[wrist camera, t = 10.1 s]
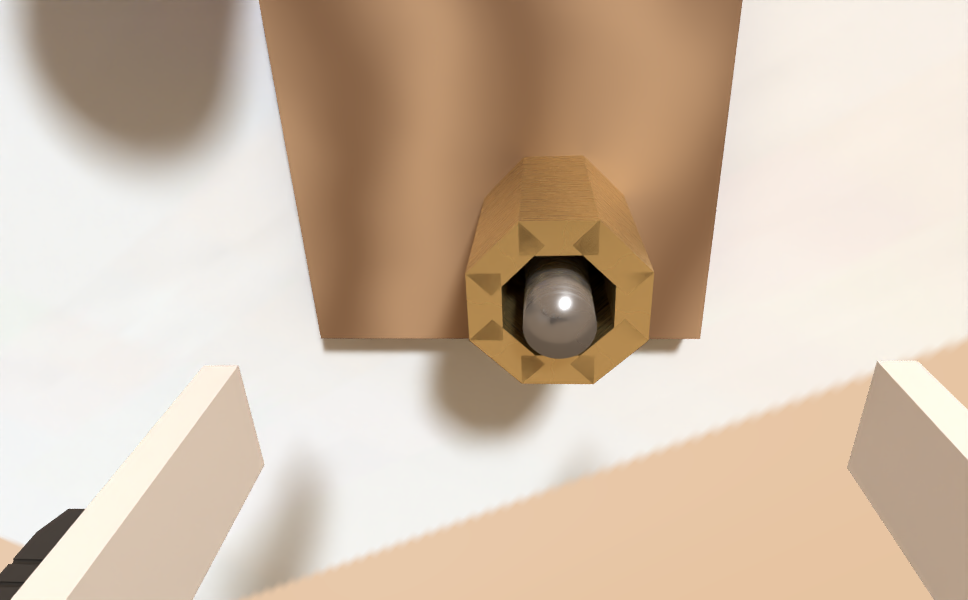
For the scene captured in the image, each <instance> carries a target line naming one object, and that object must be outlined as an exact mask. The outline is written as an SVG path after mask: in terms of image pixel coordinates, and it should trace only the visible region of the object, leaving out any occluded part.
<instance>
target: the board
mask: <svg viewBox="0 0 968 600" xmlns="http://www.w3.org/2000/svg"><path fill="white" fill-rule="evenodd" d="M259 4H260V10H261V15H262V20H263V26H264V31H265V37H266V42H267V48H268V53H269V58H270V64H271V69H272V75H273V80H274V85H275V91H276V96H277V102H278V107H279V113H280V118H281V123H282V129H283V134H284V140H285V145H286V151H287V156H288V161H289V167H290V172H291V178H292V183H293V189H294V194H295V199H296V205H297V210H298V216H299V221H300V226H301V232H302V237H303V243H304V248H305V254H306V259H307V264H308V270H309V275H310V281H311V286H312V292H313V297H314V302H315V308H316V313H317V319H318V324H319V330H320V335H321V338H469V326H468V310H467V294H466V279H465V272H466V269H467V265H468V261H469V257H470V253H471V249H472V245H473V241H474V237H475V233H476V229H477V225H478V221H479V217H480V213H481V209H482V205H483V202H484V198H485V197H486V196H487V195H488V194H489V193H490V192H491V191H492V190H493V189H494V187H495V186H496V185H497V184H498V183H499V182H500V181H501V180H502V179H503V178H504V177H505V176H506V175H507V174H508V173H509V172H510V171H511V170H512V169H513V168H514V167H515V166H516V165H517V164H518V163H519V162H520V161H521V160H522V158H523V157H540V156H580V155H583V156H584V157H585V158H587V159H588V160H589V161H590V162H591V163H592V164H593V165H594V166H595V167H596V168H597V169H598V170H599V171H600V172H601V173H602V174H603V175H604V176H605V177H606V178H607V179H608V180H609V181H610V182H611V183H612V184H613V185H614V186H615V187H616V188H617V189H618V190H619V191H620V192H621V193H622V194H623V195H624V197H625V200H626V202H627V205H628V207H629V210H630V212H631V215H632V217H633V220H634V222H635V225H636V227H637V230H638V232H639V235H640V238H641V240H642V243H643V245H644V248H645V250H646V253H647V255H648V258H649V260H650V263H651V265H652V268H653V270H654V281H653V293H652V305H651V317H650V329H649V339H700V334H701V326H702V318H703V310H704V302H705V294H706V286H707V278H708V270H709V262H710V254H711V247H712V239H713V231H714V223H715V215H716V207H717V199H718V191H719V183H720V175H721V167H722V159H723V151H724V143H725V135H726V127H727V119H728V111H729V103H730V95H731V87H732V79H733V71H734V63H735V55H736V47H737V39H738V31H739V24H740V16H741V8H742V0H259Z"/></svg>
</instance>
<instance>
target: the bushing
mask: <svg viewBox="0 0 968 600" xmlns="http://www.w3.org/2000/svg"><path fill="white" fill-rule="evenodd" d="M569 255H583V256H584V257H585V258H586V262H587V268H588V274H589V279H590V285H591V291H592V297H593V303H594V309H595V315H596V321H597V332H596V335H595V338H594V340H593V342H592V343H591V344H590V346H589V347H588V348H587V349H586V350H584V351H583V352H582V353H580V354H578V355H576V356H573V357H570V358H565V359H554V358H549V357H546V356H543V355H541V354H539V353H538V352H536V351H535V350H534V349H533V348H531V347H530V345H529V344H528V343H527V341H526V339H525V337H524V333H523V312H524V291H525V270H526V263H527V262H528V261H529V260H530V259H531V258H533V257H534V256H569ZM465 279H466V294H467V310H468V326H469V340H470V341H471V342H472V343H473V344H475V345H476V346H477V347H478V348H479V349H481V350H482V351H483V352H484V353H485V354H487V355H488V356H489V357H490V358H491V359H493V360H494V361H495V362H496V363H498V364H499V365H500V366H501V367H502V368H504V369H505V370H506V371H507V372H508V373H510V374H511V375H512V376H513V377H515V378H516V379H517V380H518V381H519V382H521V383H522V384H594V383H595V382H597V381H598V380H599V379H600V378H602V377H603V376H604V375H605V374H607V373H608V372H609V371H611V370H612V369H613V368H614V367H616V366H617V365H618V364H619V363H621V362H622V361H623V360H624V359H626V358H627V357H628V356H629V355H631V354H632V353H633V352H635V351H636V350H637V349H638V348H640V347H641V346H642V345H643V344H645V343H646V342H647V341H648V340H649V329H650V317H651V305H652V293H653V281H654V270H653V268H652V265H651V263H650V260H649V258H648V255H647V253H646V250H645V248H644V245H643V243H642V240H641V238H640V235H639V232H638V230H637V227H636V225H635V222H634V220H633V217H632V215H631V212H630V210H629V207H628V205H627V202H626V200H625V197H624V195H623V194H622V193H621V192H620V191H619V190H618V189H617V188H616V187H615V186H614V185H613V184H612V183H611V182H610V181H609V180H608V179H607V178H606V177H605V176H604V175H603V174H602V173H601V172H600V171H599V170H598V169H597V168H596V167H595V166H594V165H593V164H592V163H591V162H590V161H589V160H588V159H587V158H585V157H584V156H583V155H580V156H540V157H523V158H522V160H521V161H520V162H519V163H518V164H517V165H516V166H515V167H514V168H513V169H512V170H511V171H510V172H509V173H508V174H507V175H506V176H505V177H504V178H503V179H502V180H501V181H500V182H499V183H498V184H497V185H496V186H495V187H494V189H493V190H492V191H491V192H490V193H489V194H488V195H487V196H486V197H485V198H484V202H483V205H482V209H481V213H480V217H479V221H478V225H477V229H476V233H475V237H474V241H473V245H472V249H471V253H470V257H469V261H468V265H467V269H466V272H465Z"/></svg>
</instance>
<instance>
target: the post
mask: <svg viewBox="0 0 968 600" xmlns="http://www.w3.org/2000/svg"><path fill="white" fill-rule="evenodd" d="M596 332H597V321H596V315H595V309H594V303H593V297H592V291H591V285H590V279H589V274H588V268H587V262H586V258H585V257H584V256H583V255H569V256H534V257H533V258H531V259H530V260H529V261H528V262H527V263H526V270H525V291H524V312H523V333H524V337H525V339H526V341H527V343H528V344H529V345H530V347H531V348H533V349H534V350H535V351H536V352H538V353H539V354H541V355H543V356H546V357H549V358H554V359H565V358H570V357H573V356H576V355H578V354H580V353H582V352H583V351H584V350H586V349H587V348H588V347H589V346H590V344H591V343H592V342H593V340H594V338H595V335H596Z"/></svg>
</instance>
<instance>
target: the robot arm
mask: <svg viewBox="0 0 968 600" xmlns="http://www.w3.org/2000/svg"><path fill="white" fill-rule="evenodd" d="M263 467H264V461H263V457H262V453H261V450H260V446H259V442H258V438H257V434H256V431H255V427H254V423H253V419H252V415H251V412H250V408H249V404H248V400H247V396H246V393H245V389H244V385H243V381H242V377H241V373H240V370H239V366H238V365H217V366H203V367H202V368H201V370H200V371H199V372H198V373H197V374H196V376H195V377H194V378H193V379H192V381H191V382H190V383H189V384H188V385H187V387H186V388H185V389H184V390H183V391H182V393H181V394H180V395H179V396H178V397H177V399H176V400H175V401H174V402H173V404H172V405H171V406H170V407H169V408H168V410H167V411H166V412H165V413H164V414H163V416H162V417H161V418H160V419H159V421H158V422H157V423H156V424H155V425H154V427H153V428H152V429H151V430H150V431H149V433H148V434H147V435H146V436H145V437H144V439H143V440H142V441H141V442H140V444H139V445H138V446H137V447H136V448H135V450H134V451H133V452H132V453H131V454H130V456H129V457H128V458H127V459H126V460H125V462H124V463H123V464H122V465H121V467H120V468H119V469H118V470H117V471H116V473H115V474H114V475H113V476H112V477H111V479H110V480H109V481H108V482H107V484H106V485H105V486H104V487H103V488H102V490H101V491H100V492H99V493H98V494H97V496H96V497H95V498H94V499H93V500H92V502H91V503H90V504H89V505H88V507H87V508H86V509H68V510H66V511H65V512H64V513H62V514H61V515H59V516H58V517H57V518H55V519H54V520H53V521H51V522H50V523H48V524H47V525H46V526H44V527H43V528H42V529H40V530H39V531H37V532H36V534H35V535H34V536H33V537H32V538H31V539H30V540H29V542H28V543H27V544H26V545H25V546H24V547H23V548H22V549H21V551H20V552H19V553H18V554H17V555H16V556H15V558H14V559H13V560H14V561H13V563H12V564H8V565H7V567H6V568H5V569H4V570H3V571H2V572H1V573H0V600H193V598H194V596H195V594H196V592H197V590H198V588H199V587H200V585H201V583H202V581H203V579H204V577H205V575H206V573H207V572H208V570H209V568H210V566H211V564H212V562H213V560H214V558H215V557H216V555H217V553H218V551H219V549H220V547H221V545H222V543H223V542H224V540H225V538H226V536H227V534H228V532H229V530H230V528H231V527H232V525H233V523H234V521H235V519H236V517H237V515H238V513H239V512H240V510H241V508H242V506H243V504H244V502H245V500H246V498H247V497H248V495H249V493H250V491H251V489H252V487H253V485H254V483H255V482H256V480H257V478H258V476H259V474H260V472H261V470H262V468H263ZM848 470H849V471H850V473H851V474H852V476H853V477H854V479H855V480H856V482H857V483H858V485H859V486H860V488H861V489H862V491H863V492H864V494H865V495H866V497H867V498H868V500H869V501H870V503H871V504H872V506H873V508H874V509H875V511H876V512H877V513H878V515H879V517H880V518H881V520H882V521H883V523H884V524H885V526H886V527H887V529H888V530H889V532H890V533H891V535H892V536H893V538H894V540H895V541H896V542H897V544H898V546H899V547H900V549H901V550H902V552H903V553H904V555H905V556H906V558H907V559H908V561H909V562H910V564H911V565H912V567H913V568H914V570H915V571H916V573H917V574H918V576H919V577H920V579H921V581H922V582H923V584H924V585H925V587H926V588H927V590H928V591H929V593H930V594H931V596H932V597H933V599H934V600H968V410H967V409H966V408H965V407H964V406H963V405H962V404H961V403H960V402H959V401H958V400H957V399H956V398H955V397H954V396H953V395H952V394H951V393H950V392H949V391H948V390H947V389H946V388H945V387H944V386H943V385H941V383H940V382H939V381H938V380H937V379H935V378H934V377H933V376H932V375H931V374H930V373H929V372H928V371H927V370H926V369H925V368H924V367H923V366H922V365H921V364H920V363H919V362H918V361H877V363H876V367H875V371H874V374H873V378H872V381H871V385H870V388H869V392H868V395H867V399H866V403H865V406H864V410H863V413H862V417H861V420H860V424H859V427H858V431H857V435H856V438H855V442H854V445H853V449H852V452H851V456H850V460H849V463H848Z"/></svg>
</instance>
